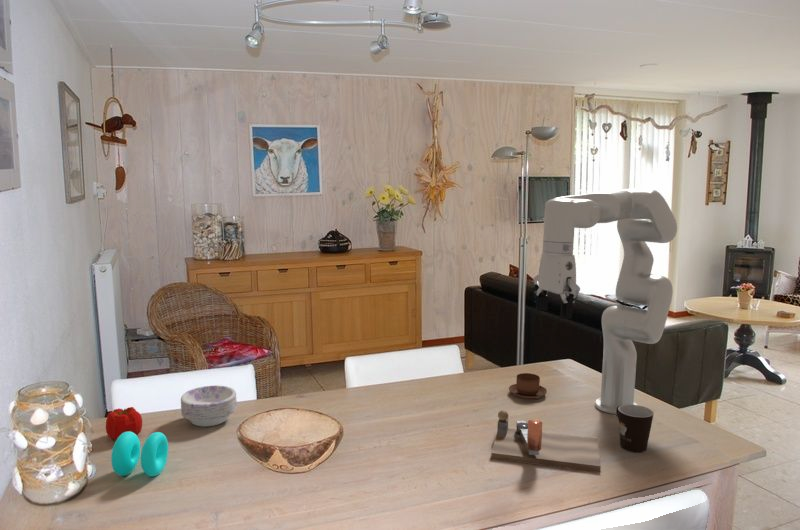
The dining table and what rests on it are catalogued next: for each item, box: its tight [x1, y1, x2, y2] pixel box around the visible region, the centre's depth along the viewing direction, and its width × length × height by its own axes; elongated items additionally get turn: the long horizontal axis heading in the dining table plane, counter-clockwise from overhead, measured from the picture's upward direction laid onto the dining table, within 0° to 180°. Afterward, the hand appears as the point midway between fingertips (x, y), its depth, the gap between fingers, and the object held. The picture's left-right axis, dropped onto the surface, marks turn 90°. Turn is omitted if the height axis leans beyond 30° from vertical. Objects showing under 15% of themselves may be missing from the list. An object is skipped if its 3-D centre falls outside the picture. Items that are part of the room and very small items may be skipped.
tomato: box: [105, 406, 143, 441], centre depth 163 cm, size 9×9×8 cm
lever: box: [515, 418, 543, 455], centre depth 155 cm, size 18×4×8 cm, turn 0°
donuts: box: [110, 431, 169, 477], centre depth 143 cm, size 10×10×10 cm
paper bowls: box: [180, 384, 238, 428], centre depth 174 cm, size 15×15×8 cm
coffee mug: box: [616, 404, 655, 454], centre depth 160 cm, size 12×9×10 cm
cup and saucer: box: [508, 372, 548, 400], centre depth 196 cm, size 12×12×6 cm
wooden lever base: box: [490, 409, 602, 473], centre depth 156 cm, size 16×26×7 cm, turn 75°
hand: (553, 314), depth 156 cm, fingers open, 9 cm apart
